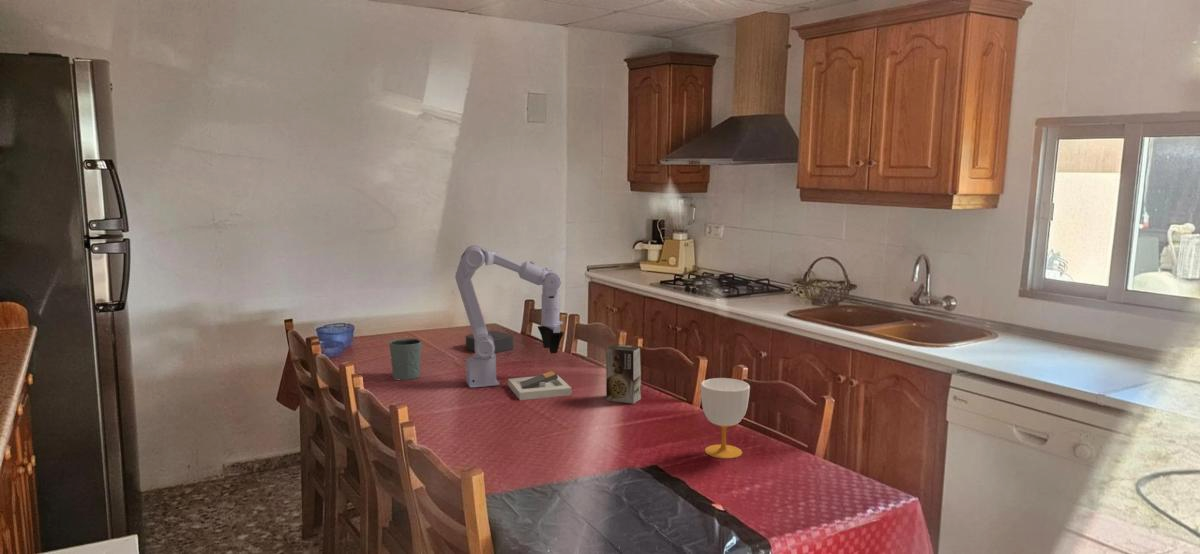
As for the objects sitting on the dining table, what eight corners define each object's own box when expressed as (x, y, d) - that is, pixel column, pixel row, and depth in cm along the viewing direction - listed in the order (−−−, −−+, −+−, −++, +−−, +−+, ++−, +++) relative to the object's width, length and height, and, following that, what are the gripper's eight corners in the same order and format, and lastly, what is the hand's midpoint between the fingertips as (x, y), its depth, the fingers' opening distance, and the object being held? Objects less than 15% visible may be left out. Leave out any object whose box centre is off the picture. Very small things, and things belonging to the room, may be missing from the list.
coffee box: (641, 398, 235) (642, 346, 232) (633, 404, 229) (634, 350, 227) (614, 394, 238) (614, 343, 236) (605, 400, 233) (605, 347, 230)
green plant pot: (384, 379, 255) (383, 343, 253) (403, 371, 264) (402, 336, 263) (410, 382, 251) (409, 346, 250) (428, 374, 261) (427, 339, 259)
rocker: (524, 390, 238) (523, 386, 238) (520, 385, 243) (519, 381, 243) (558, 378, 241) (556, 374, 241) (553, 374, 246) (552, 370, 246)
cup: (736, 464, 183) (738, 394, 181) (691, 454, 189) (692, 386, 187) (755, 449, 193) (757, 382, 191) (711, 440, 199) (712, 375, 197)
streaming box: (463, 349, 298) (462, 335, 297) (493, 343, 308) (493, 330, 307) (485, 355, 287) (485, 342, 287) (516, 349, 298) (516, 336, 297)
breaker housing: (520, 400, 233) (519, 388, 232) (508, 385, 248) (508, 375, 247) (571, 395, 238) (571, 384, 237) (557, 381, 253) (557, 370, 252)
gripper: (569, 312, 245) (568, 354, 247) (556, 304, 258) (556, 344, 260) (547, 313, 242) (547, 356, 244) (535, 305, 256) (535, 345, 258)
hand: (550, 350), depth 252 cm, fingers open, 7 cm apart
